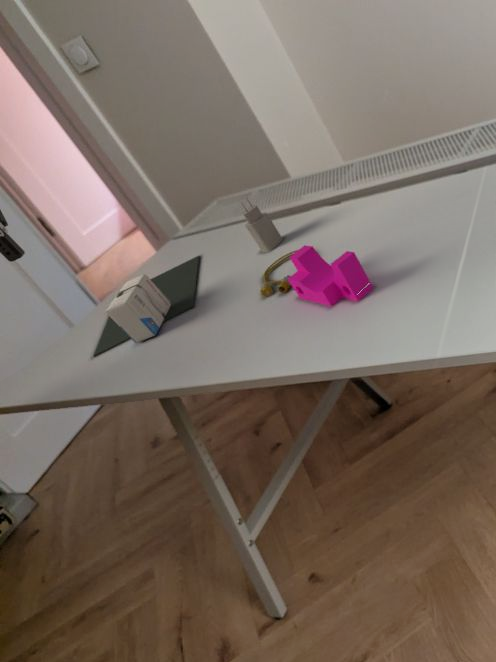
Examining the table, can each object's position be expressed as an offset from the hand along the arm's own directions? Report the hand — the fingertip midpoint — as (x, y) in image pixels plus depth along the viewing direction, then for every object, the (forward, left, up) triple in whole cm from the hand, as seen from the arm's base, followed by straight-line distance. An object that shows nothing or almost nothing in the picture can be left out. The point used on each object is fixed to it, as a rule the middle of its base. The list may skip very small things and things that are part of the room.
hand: (18, 257), depth 86 cm
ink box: (+8, +1, -20) cm, 22 cm away
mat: (+25, +12, -25) cm, 37 cm away
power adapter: (+38, -15, -25) cm, 48 cm away
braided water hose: (+22, -26, -25) cm, 42 cm away
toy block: (+10, -42, -25) cm, 50 cm away
